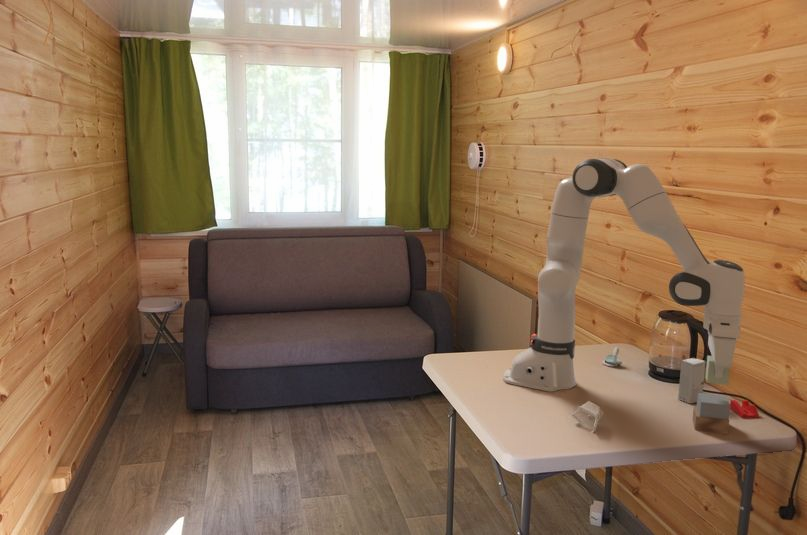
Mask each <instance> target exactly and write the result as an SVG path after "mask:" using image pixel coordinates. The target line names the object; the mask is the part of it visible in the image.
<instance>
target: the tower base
mask: <svg viewBox="0 0 807 535" xmlns="http://www.w3.org/2000/svg"><path fill="white" fill-rule="evenodd" d="M692 411H693V412H692V421H693V422H692V423H693V427H694V430H695V431H703V432H709V433H710V432H711V433H718V434H723V435H728V434H729V429H730V428H729V426H730V419H729V420H726V419H718V418H710V417H701V416H699V412H698V409H697V405H693V410H692Z"/></svg>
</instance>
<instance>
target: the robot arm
mask: <svg viewBox="0 0 807 535" xmlns="http://www.w3.org/2000/svg"><path fill="white" fill-rule="evenodd" d="M554 193H555V194H554V197H553V199H552V200H553V201H552V204H551V210H550V215H549V216H550V217H549V222H548V230H547V233H546V234H547V235H546V255H545V256H546V257H545V264H544V266H543V268H541V270H540V271H539V273H538V277H537V301H538V303H537V304H538V321H537V323H538V324H537V333H533V334H531V336H530V343H529V346H530V347H528V348H527V349H525V350H524V351H521V353H518V354H517V355H516V356H515V357H514V358H513V360H512V362H511V365H510V366H511V367H509V368H507V369H506V370H505V371H504V373H503V376H502V377H503V378H502V380H503V379H504V380H503V382H504V383H505V384H510V385H516V386H520V387H525V388H530V389H535V390H540V391H544V392H551V393H552V392H556V391H560V390H567V389H571V388H573V387H575V386H576V385H577V380H576V377H575V371H574V370H575V369H574V368H575V367H574V358H575V353H576V339H575V328H576V326H575V324H576V288H577V285H578V283H579V281H580V279H581V272H582V265H583V255H584V248H585V246H584V245H585V239H586V234H587V233H586V232H587V227H588V221H589V220H588V219H589V214H590V207H591V204H592V202H593V201H594V200H595V199H596V198H606V197H613V196H618V197H619V198H620V199H621V201H622V202H623V203H624V205H625V207H626V209H627V212H628V214H629V216H630V218H631V219H632V222H633V223H634V225H636V227H637V228H638V229H639V230H640V231H641V232H643V233H645V234H647V235H650V236H653V237H656V238H658V239H660V240H662V241H664V242H665V243H666V244H667V245H668V246H669V248H671V250H672V252H673V254H674V255H675V257H676V259H677V261H678V262H679V264H680V265H681V267H682V269H683V270H682V271H679V272H678V273H676V274H674V275H673V276H672V278H671V279H670V281H669V284H668V292H669V295H670V297H671V298H672V300H673V301H675V303H676V304H678V305H681V306H683V307H684V306H685V307H698V306H703V307H704V315H703V326H702V328H703V329H705V330H707V335H708V338H707V340H708V341H707V347H708V348H709V351H710V354H711V355H710V356H712V357H713V360H714V363H715V373H714V375H715V377H716V378H722V376H723V371H724V368H725V367H726V368H729V367H730V368H731V366H732V365H733V364H732V363H733V361H734V360H733V359H734V356H735V350H736V345H737V344H736V343H737V339H739V338H740V332H741V326H742V315H743V311H742V302H743V300H744V298H745V286H746V285H745V284H746V283H745V282H746V281H745V280H746V279H745V271H744V269H743V267H742V266H741V265H738V264H739V263H735V262H732V261H729V260H722V259H715V260H713V261H711V262H709V260H707V258H706V257H705V255H704V254H703V252H702V250H701V249H700V248H699V246H698V244H697V242H696V241H695V239H694V238H693V236H692V234H691V232H690V231H689V230H688V228H687V227H686V225H685V223H684V222H683V220H682V219H681V218H680V215H679V214H678V212H677V210H676V209H675V207H674V204H673V203H672V201H671V199H670V197H669V196H668V193H667V192H666V190H665V188H664V186H663V185H662V183H661V181H660V180H659V179H658V176H656V174H655V173H654V172H653V171H652V169H651V168H650V167H649V166H648V165H647V164H642V163H635V164H631V165H629V166H627V164H626V163H624V161H623V162H622V161H621V160H619V159H616V158H615V159H614V158H607V157H600V158H589V159H586V160H584V161H582V162H579V164H578V165H577V166H576V167H575V168H574V170H573V172H572V177H567V178H564V179H562V180H560V182H559V183H558V185H557V187H556V191H555V192H554Z"/></svg>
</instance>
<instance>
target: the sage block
mask: <svg viewBox="0 0 807 535" xmlns="http://www.w3.org/2000/svg"><path fill="white" fill-rule="evenodd" d="M730 368H731V366H730V367H729V368H726V367H725V368H724V371H723V376H722V378H716V377H715V375H714V373H715V363H714V360H713V357H712V355H709V354H708V355H707V356H706V364H705V374H704V378H705V380H706V383H707V384H716V385H722V386H724V385H725V386H728V385H729V379H730V378H729V377H730Z"/></svg>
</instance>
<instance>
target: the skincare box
mask: <svg viewBox="0 0 807 535" xmlns="http://www.w3.org/2000/svg"><path fill="white" fill-rule="evenodd" d="M680 363H681V365H680V374H679V377H680V378H679V385H678V395H677V396H678V397H677V400H679V399H680V400H679V401H681V400H682V402H683V401H685V403H686V402H687V404H689V403H691V404H694V403H697V398H698V393H704V383H705V375H706V364H707V360H702V359H699V358H695V357H691V358H686V359H682V360H681V362H680Z"/></svg>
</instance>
